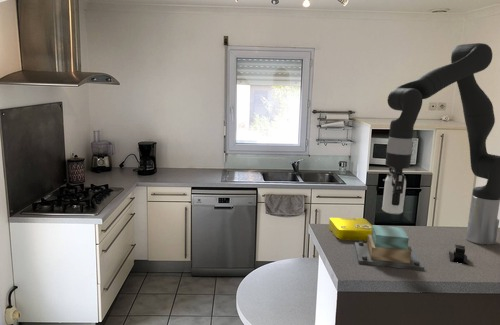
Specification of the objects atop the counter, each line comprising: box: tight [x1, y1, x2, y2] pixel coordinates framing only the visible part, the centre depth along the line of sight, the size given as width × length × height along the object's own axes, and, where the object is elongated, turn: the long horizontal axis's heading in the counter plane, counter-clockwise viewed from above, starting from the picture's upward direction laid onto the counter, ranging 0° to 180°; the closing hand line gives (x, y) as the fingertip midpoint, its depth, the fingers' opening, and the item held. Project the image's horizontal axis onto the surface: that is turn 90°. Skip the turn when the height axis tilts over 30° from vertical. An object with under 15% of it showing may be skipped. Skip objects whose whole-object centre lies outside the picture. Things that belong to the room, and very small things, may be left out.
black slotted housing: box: [448, 244, 469, 266], centre depth 139 cm, size 12×7×5 cm, turn 156°
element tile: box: [328, 217, 373, 242], centre depth 159 cm, size 15×15×5 cm
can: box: [381, 173, 407, 215], centre depth 134 cm, size 6×6×12 cm
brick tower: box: [353, 224, 425, 271], centre depth 137 cm, size 20×16×9 cm
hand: (393, 202), depth 134 cm, fingers closed on can, 6 cm apart
